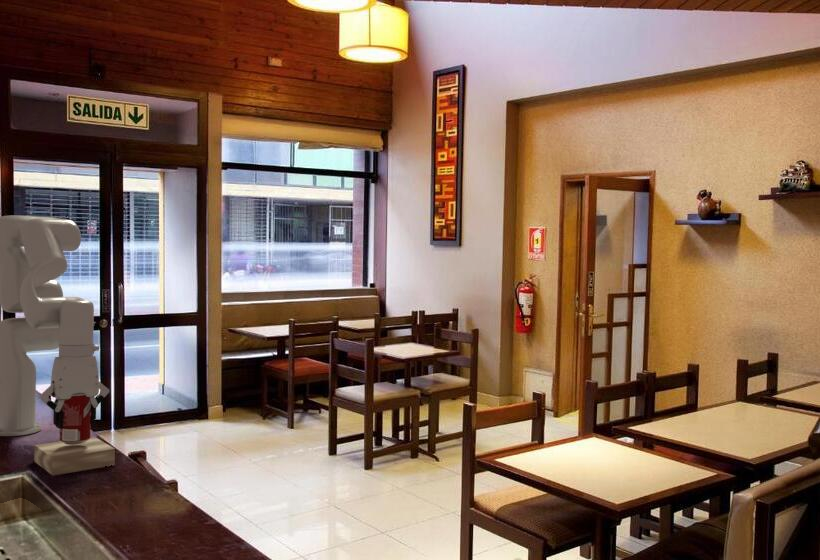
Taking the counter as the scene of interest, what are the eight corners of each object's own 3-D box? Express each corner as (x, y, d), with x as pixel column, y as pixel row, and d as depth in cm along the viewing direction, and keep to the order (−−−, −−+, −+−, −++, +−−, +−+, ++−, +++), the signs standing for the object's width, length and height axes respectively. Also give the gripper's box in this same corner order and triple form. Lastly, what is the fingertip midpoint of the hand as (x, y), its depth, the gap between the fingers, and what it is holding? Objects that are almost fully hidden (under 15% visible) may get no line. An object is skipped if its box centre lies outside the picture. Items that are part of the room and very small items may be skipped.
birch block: (34, 461, 178) (34, 445, 177) (93, 452, 187) (94, 436, 187) (52, 475, 167) (52, 458, 167) (114, 465, 177) (115, 448, 177)
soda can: (78, 446, 173) (79, 396, 173) (53, 444, 174) (53, 394, 174) (96, 439, 180) (97, 391, 179) (71, 437, 181) (72, 389, 181)
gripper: (106, 347, 185) (105, 417, 186) (32, 351, 173) (31, 427, 174) (118, 350, 179) (117, 423, 180) (42, 355, 168) (40, 433, 168)
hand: (74, 424), depth 177 cm, fingers closed on soda can, 6 cm apart
